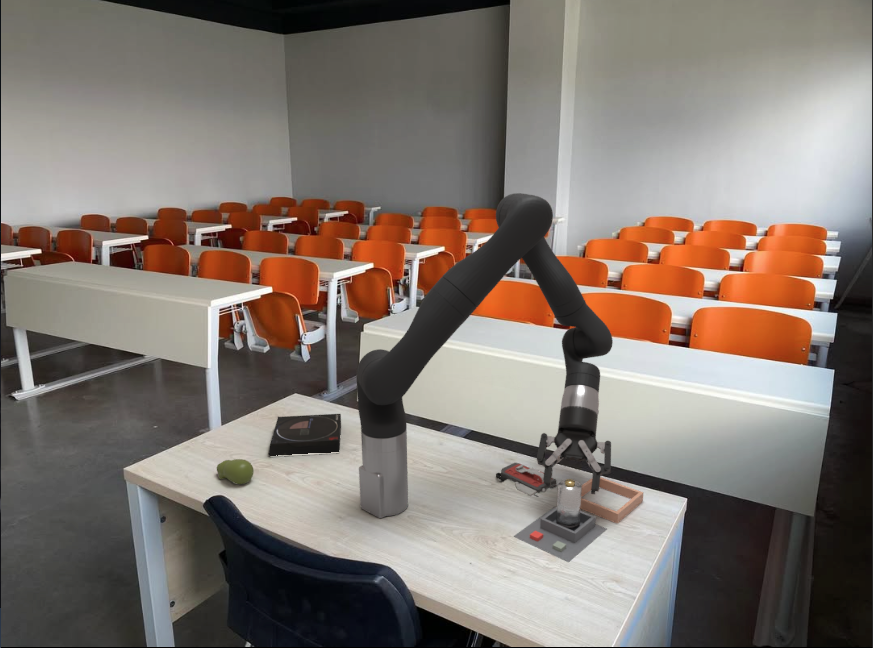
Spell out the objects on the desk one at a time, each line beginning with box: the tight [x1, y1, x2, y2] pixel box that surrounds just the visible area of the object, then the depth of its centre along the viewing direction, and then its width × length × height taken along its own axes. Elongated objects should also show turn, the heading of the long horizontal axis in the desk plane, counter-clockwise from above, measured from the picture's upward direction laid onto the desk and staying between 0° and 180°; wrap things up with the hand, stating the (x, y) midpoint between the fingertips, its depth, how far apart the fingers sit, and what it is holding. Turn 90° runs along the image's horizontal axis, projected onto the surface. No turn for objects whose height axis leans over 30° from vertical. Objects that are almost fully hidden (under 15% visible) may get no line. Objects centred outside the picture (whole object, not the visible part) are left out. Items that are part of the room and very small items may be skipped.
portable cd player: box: [267, 413, 342, 457], centre depth 169 cm, size 16×17×4 cm
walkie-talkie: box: [495, 462, 558, 498], centre depth 143 cm, size 9×4×20 cm
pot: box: [580, 476, 644, 524], centre depth 136 cm, size 11×11×4 cm
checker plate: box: [512, 506, 608, 563], centre depth 126 cm, size 14×12×4 cm
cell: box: [556, 478, 583, 531], centre depth 127 cm, size 4×4×10 cm
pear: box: [216, 458, 255, 485], centre depth 150 cm, size 6×5×10 cm
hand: (570, 489), depth 128 cm, fingers open, 8 cm apart
